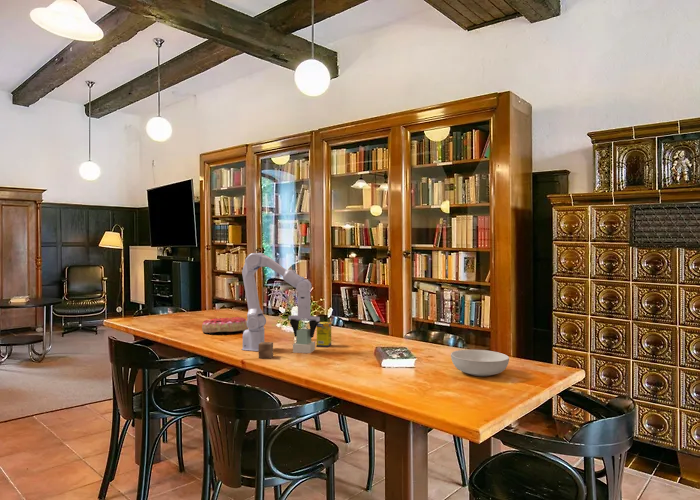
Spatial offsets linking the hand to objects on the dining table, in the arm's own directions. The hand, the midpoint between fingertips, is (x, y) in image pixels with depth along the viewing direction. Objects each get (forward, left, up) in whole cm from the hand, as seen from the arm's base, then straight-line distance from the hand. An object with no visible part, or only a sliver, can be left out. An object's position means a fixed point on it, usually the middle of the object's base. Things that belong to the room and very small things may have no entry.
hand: (304, 336), depth 225 cm
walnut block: (-10, -17, -6) cm, 21 cm away
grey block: (0, 0, -7) cm, 7 cm away
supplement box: (+4, +14, -7) cm, 16 cm away
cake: (-63, +34, -7) cm, 72 cm away
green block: (0, 0, -3) cm, 3 cm away
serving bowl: (+78, -15, -7) cm, 80 cm away
